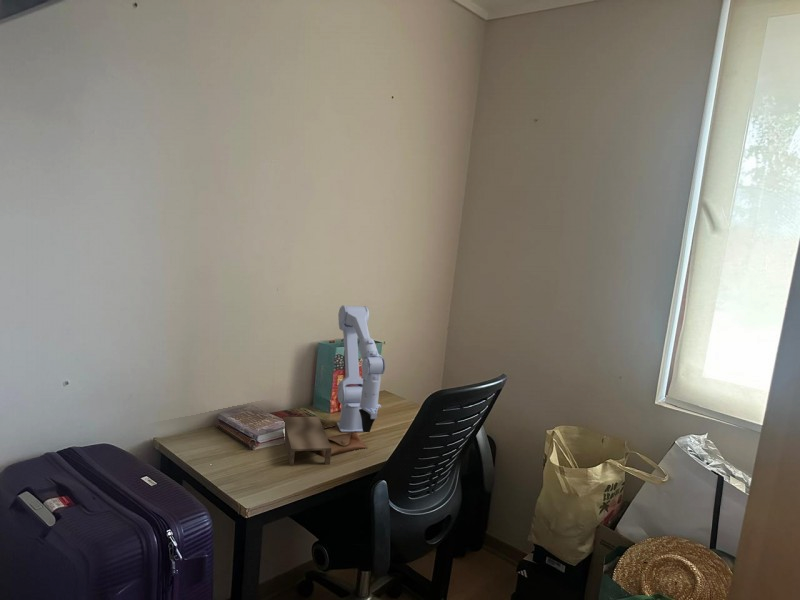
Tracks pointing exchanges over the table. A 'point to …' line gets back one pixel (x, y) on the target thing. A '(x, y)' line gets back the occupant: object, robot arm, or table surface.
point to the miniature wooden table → (305, 436)
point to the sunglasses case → (343, 444)
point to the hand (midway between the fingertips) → (366, 431)
